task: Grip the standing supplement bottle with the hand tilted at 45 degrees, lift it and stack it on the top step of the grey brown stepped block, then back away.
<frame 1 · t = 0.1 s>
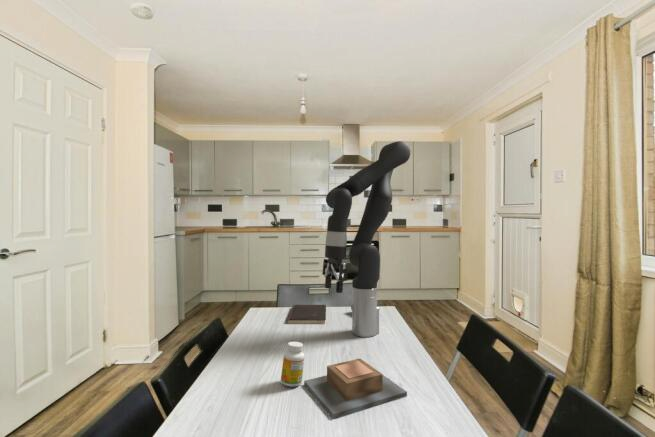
hand: (333, 290, 115), 17 cm above the table, tool pointing down, fingers open, 8 cm apart
hardcover book: (307, 317, 144), on the table
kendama: (359, 319, 139), on the table
grey brown stepped block: (353, 390, 81), on the table
supplement bottle: (290, 383, 84), on the table
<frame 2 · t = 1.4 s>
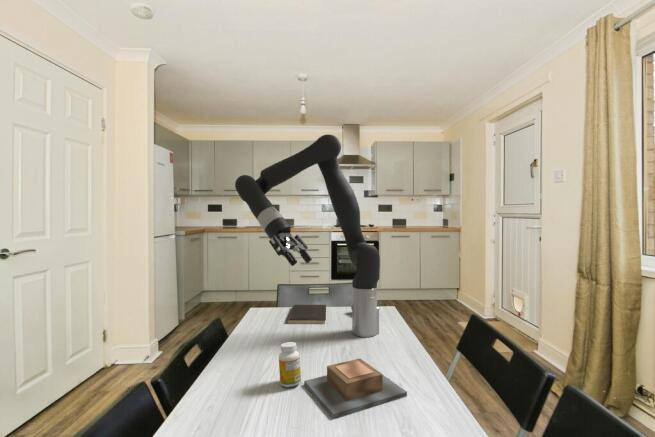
hand: (302, 262, 100), 29 cm above the table, tool tilted 45°, fingers open, 8 cm apart
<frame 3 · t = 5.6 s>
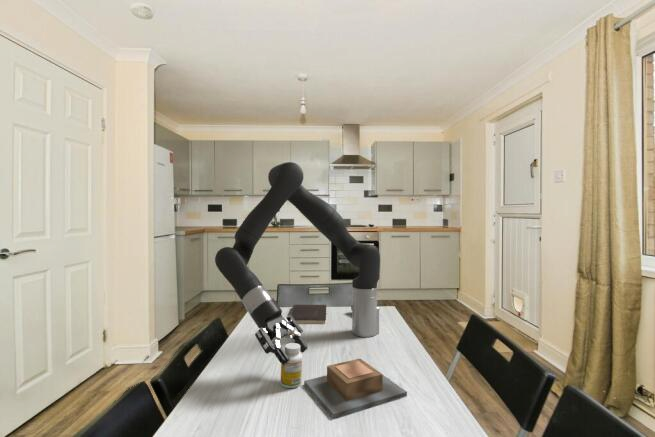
hand: (296, 356, 84), 7 cm above the table, tool tilted 45°, fingers open, 8 cm apart
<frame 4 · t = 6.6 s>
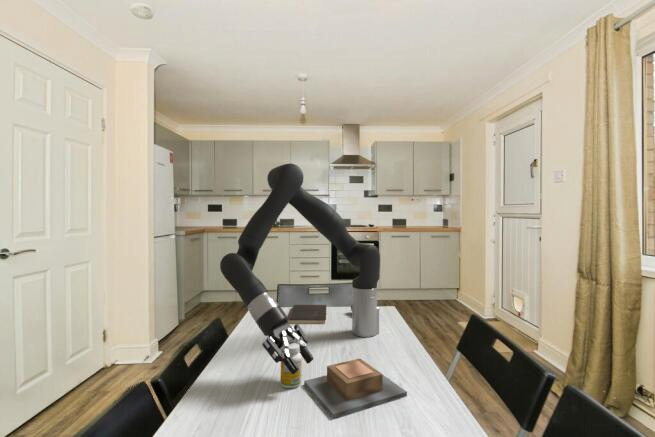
hand: (303, 366, 83), 5 cm above the table, tool tilted 45°, fingers open, 6 cm apart
supplement bottle: (290, 384, 84), on the table, touching gripper
everything else where it was.
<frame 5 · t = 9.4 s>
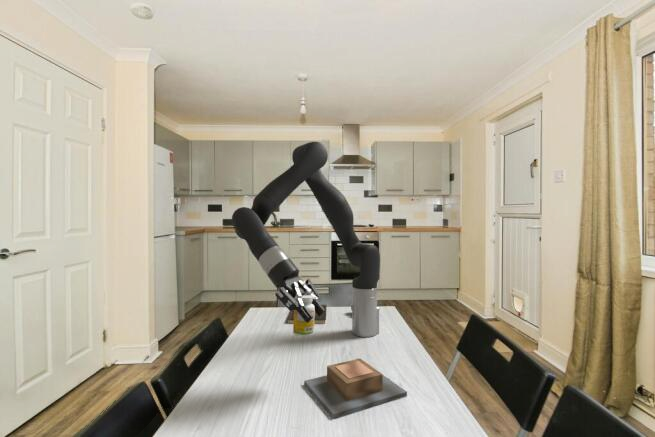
hand: (316, 316, 83), 18 cm above the table, tool tilted 45°, fingers closed on supplement bottle, 5 cm apart
supplement bottle: (303, 334, 84), point 13 cm above the table, touching gripper
everything else where it was.
when the fingers open (11 cm above the table, at t = 12.1 s): supplement bottle stays where it is, resting on grey brown stepped block.
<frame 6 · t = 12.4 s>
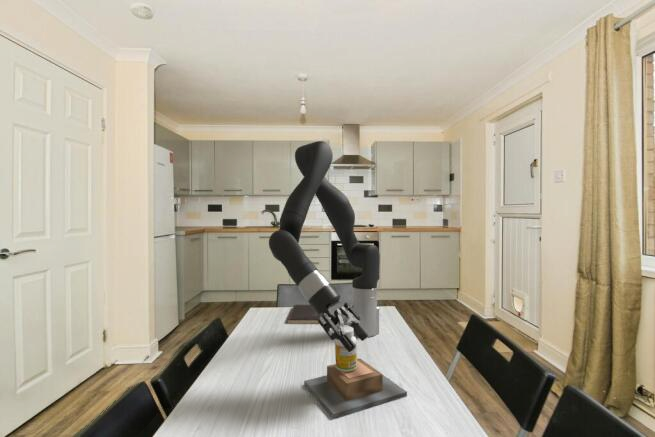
hand: (359, 343, 80), 12 cm above the table, tool tilted 45°, fingers open, 7 cm apart
supplement bottle: (346, 367, 82), point 5 cm above the table, touching grey brown stepped block
everything else where it was.
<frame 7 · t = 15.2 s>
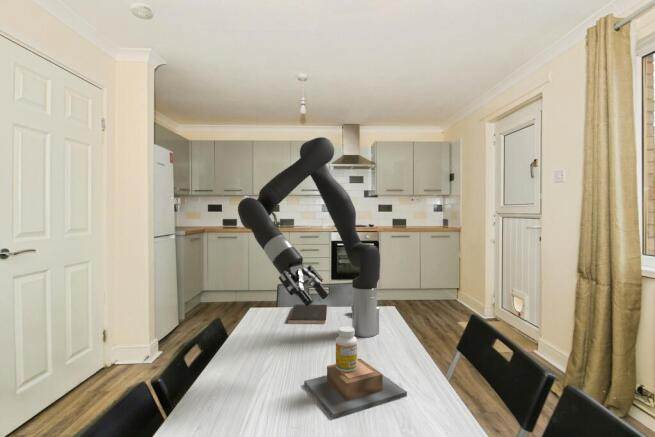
hand: (318, 300, 86), 21 cm above the table, tool tilted 45°, fingers open, 8 cm apart
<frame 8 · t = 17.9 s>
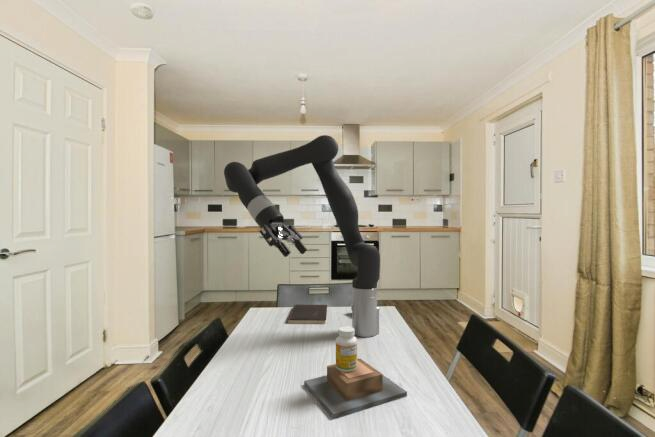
hand: (296, 253, 93), 33 cm above the table, tool tilted 45°, fingers open, 8 cm apart
at the end: supplement bottle 2.0 cm off-centre on the grey brown stepped block, point 5.0 cm above the grey brown stepped block's base; supplement bottle tilted 0°; the gripper is holding nothing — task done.
